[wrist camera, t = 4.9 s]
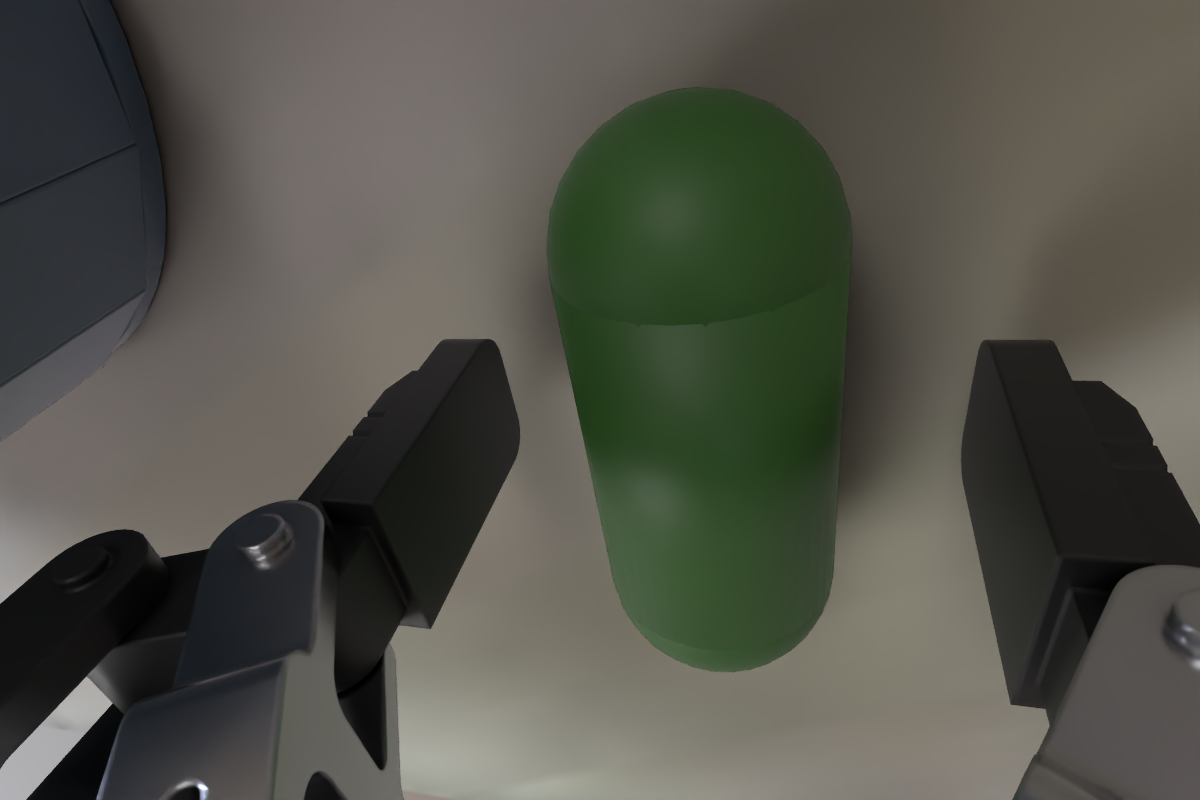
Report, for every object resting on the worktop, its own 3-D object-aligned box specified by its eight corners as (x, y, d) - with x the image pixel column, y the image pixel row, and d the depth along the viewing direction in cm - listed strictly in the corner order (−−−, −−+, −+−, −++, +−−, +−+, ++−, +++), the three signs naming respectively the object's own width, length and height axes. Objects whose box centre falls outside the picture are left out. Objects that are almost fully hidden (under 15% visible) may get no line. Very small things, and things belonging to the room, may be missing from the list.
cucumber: (829, 555, 13) (830, 733, 10) (646, 541, 14) (605, 701, 11) (855, 37, 8) (870, 132, 5) (568, 69, 9) (464, 162, 6)
